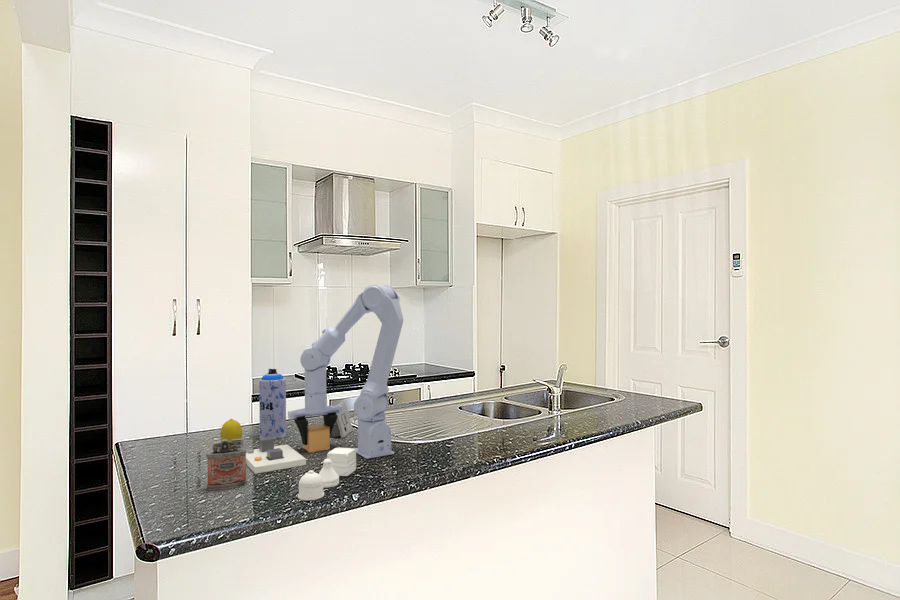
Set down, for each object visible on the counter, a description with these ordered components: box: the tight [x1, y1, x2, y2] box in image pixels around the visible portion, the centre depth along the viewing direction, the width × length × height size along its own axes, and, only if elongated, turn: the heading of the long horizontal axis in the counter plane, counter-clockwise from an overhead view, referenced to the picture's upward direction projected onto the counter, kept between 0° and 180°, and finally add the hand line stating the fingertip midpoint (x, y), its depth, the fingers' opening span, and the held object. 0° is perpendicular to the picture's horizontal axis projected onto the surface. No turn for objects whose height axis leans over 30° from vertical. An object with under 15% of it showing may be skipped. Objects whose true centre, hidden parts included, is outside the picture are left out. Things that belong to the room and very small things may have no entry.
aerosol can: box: [258, 368, 288, 440], centre depth 161 cm, size 8×8×20 cm
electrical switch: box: [331, 401, 353, 439], centre depth 162 cm, size 9×5×9 cm, turn 174°
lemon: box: [220, 418, 243, 449], centre depth 148 cm, size 6×6×8 cm
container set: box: [297, 447, 357, 501], centre depth 118 cm, size 20×5×6 cm, turn 167°
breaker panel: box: [246, 437, 307, 475], centre depth 135 cm, size 16×12×4 cm
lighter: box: [206, 438, 248, 491], centre depth 117 cm, size 8×3×10 cm, turn 114°
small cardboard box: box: [302, 422, 331, 453], centre depth 146 cm, size 6×6×6 cm
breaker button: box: [267, 448, 283, 461], centre depth 133 cm, size 3×3×3 cm
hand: (316, 442), depth 146 cm, fingers closed on small cardboard box, 6 cm apart
